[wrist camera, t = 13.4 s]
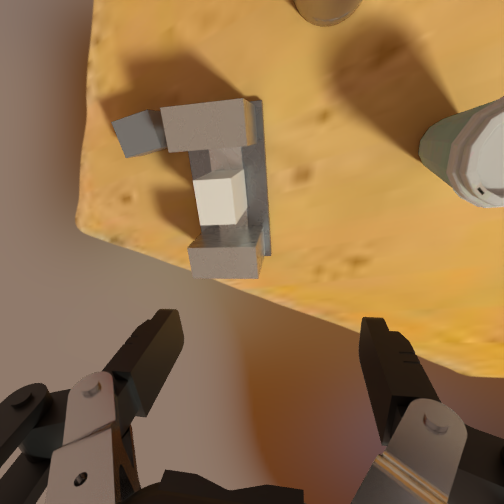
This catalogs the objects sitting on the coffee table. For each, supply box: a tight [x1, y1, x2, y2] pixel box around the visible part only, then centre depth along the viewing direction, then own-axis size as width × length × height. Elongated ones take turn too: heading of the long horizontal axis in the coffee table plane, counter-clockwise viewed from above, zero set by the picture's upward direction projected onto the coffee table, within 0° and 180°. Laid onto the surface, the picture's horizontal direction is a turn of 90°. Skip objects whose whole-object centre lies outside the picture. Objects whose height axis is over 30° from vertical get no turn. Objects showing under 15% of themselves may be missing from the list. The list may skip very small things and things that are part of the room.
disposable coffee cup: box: [418, 96, 504, 208], centre depth 31 cm, size 11×11×15 cm
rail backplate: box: [160, 98, 271, 279], centre depth 40 cm, size 24×12×10 cm, turn 5°
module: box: [193, 169, 247, 225], centre depth 39 cm, size 6×5×9 cm
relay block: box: [111, 110, 168, 158], centre depth 41 cm, size 5×6×5 cm
